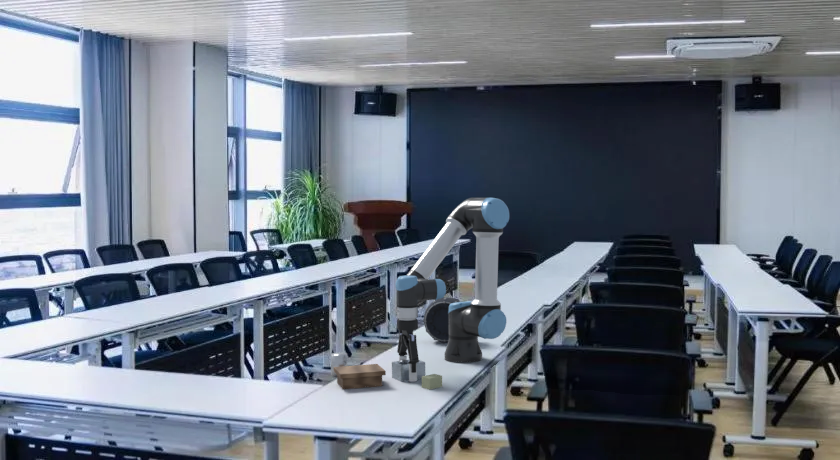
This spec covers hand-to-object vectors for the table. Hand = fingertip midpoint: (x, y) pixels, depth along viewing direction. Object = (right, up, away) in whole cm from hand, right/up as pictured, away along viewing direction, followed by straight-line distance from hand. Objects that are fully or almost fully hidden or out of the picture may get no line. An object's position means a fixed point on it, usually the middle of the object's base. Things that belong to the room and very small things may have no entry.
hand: (407, 377), depth 305 cm
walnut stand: (-17, -1, -9) cm, 19 cm away
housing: (0, 0, 0) cm, 0 cm away
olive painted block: (+9, -1, -14) cm, 17 cm away
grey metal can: (-25, 0, +5) cm, 26 cm away
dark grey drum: (+16, +4, +68) cm, 70 cm away
